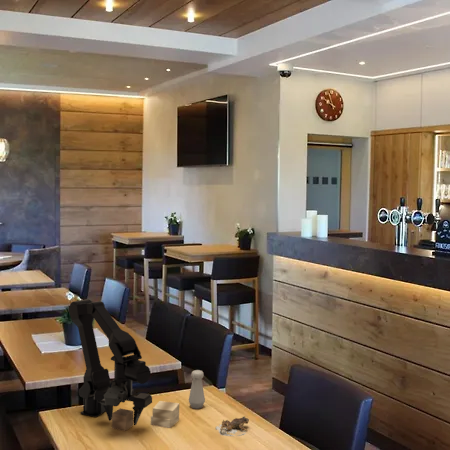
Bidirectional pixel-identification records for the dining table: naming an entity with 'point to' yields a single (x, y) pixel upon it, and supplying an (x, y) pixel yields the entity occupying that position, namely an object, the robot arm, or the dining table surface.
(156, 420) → the beech slab lower
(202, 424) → the dining table surface
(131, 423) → the walnut cube
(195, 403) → the salt shaker
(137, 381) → the robot arm
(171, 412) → the beech slab upper
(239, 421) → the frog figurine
